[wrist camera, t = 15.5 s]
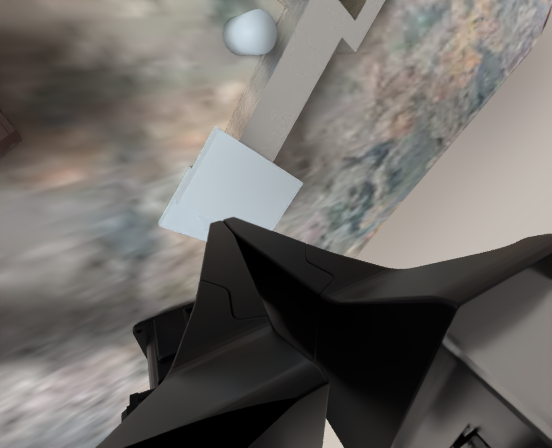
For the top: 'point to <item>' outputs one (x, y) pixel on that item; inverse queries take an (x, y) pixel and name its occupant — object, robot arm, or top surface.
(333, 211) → the top surface
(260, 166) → the pair of pale-grey parts
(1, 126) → the box
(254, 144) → the link
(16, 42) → the top surface
